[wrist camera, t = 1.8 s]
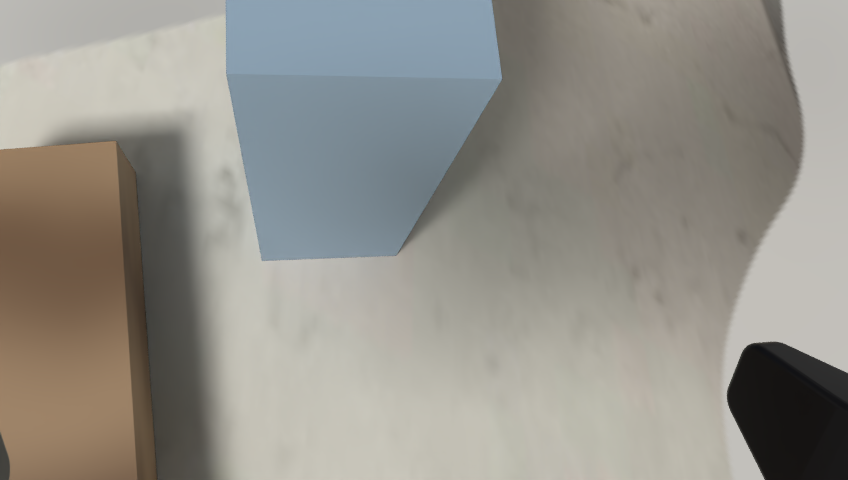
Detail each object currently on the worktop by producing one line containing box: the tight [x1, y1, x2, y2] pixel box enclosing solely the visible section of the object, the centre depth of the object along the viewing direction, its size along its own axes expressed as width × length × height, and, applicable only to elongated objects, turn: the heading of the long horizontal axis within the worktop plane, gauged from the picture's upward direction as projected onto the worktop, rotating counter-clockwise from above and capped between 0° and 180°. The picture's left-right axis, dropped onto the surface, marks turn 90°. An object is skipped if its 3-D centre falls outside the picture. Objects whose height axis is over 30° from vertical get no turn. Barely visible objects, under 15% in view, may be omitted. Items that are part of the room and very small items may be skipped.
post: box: [226, 0, 502, 261], centre depth 17 cm, size 4×4×12 cm
